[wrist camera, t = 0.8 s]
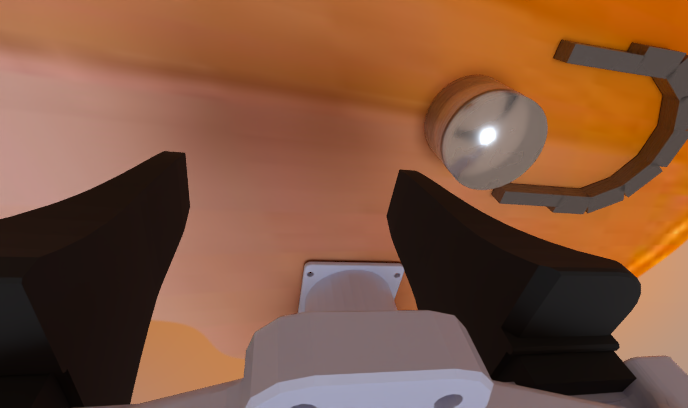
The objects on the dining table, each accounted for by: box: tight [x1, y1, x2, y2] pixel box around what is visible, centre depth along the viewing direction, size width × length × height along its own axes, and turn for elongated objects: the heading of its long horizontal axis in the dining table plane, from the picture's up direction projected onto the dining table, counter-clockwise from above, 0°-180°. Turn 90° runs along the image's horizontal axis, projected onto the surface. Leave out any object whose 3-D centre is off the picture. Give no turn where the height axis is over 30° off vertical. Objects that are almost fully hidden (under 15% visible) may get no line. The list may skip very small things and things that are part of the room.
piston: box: [424, 75, 547, 190], centre depth 21 cm, size 6×6×4 cm
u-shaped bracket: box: [492, 40, 688, 214], centre depth 24 cm, size 12×12×1 cm
